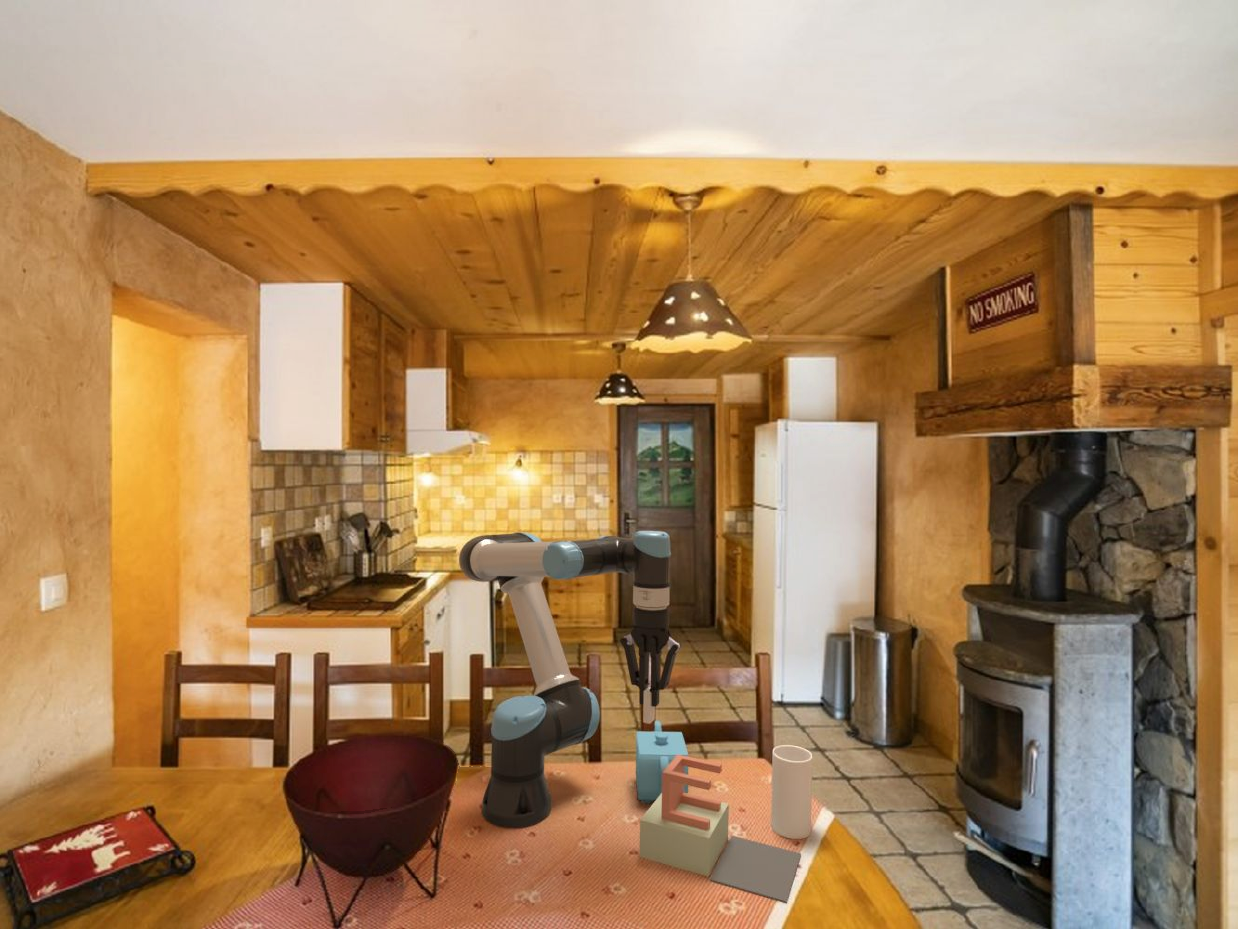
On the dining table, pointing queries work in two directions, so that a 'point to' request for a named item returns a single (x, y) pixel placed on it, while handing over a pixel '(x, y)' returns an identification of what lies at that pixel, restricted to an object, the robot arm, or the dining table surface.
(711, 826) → the step block
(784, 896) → the mat
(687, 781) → the stool
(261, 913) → the dining table surface
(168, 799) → the dining table surface
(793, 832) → the cup
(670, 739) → the teapot
